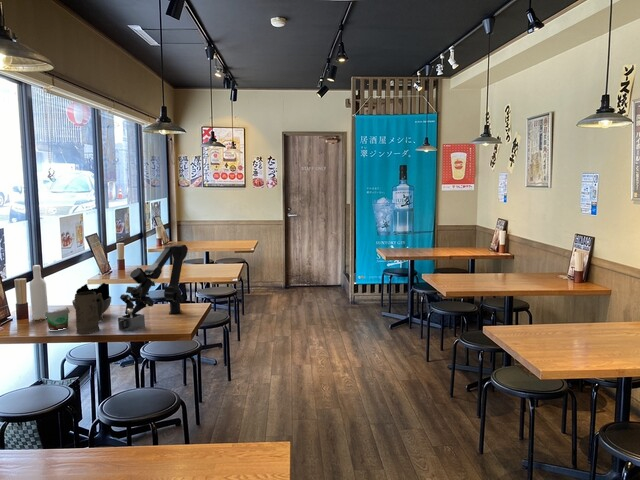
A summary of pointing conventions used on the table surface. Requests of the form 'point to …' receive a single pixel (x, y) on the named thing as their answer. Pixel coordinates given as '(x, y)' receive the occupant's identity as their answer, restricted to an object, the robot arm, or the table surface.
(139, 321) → the press body
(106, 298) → the coal bowl
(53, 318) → the food container
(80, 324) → the beer stein
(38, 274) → the bottle
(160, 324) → the table surface
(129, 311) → the plunger
